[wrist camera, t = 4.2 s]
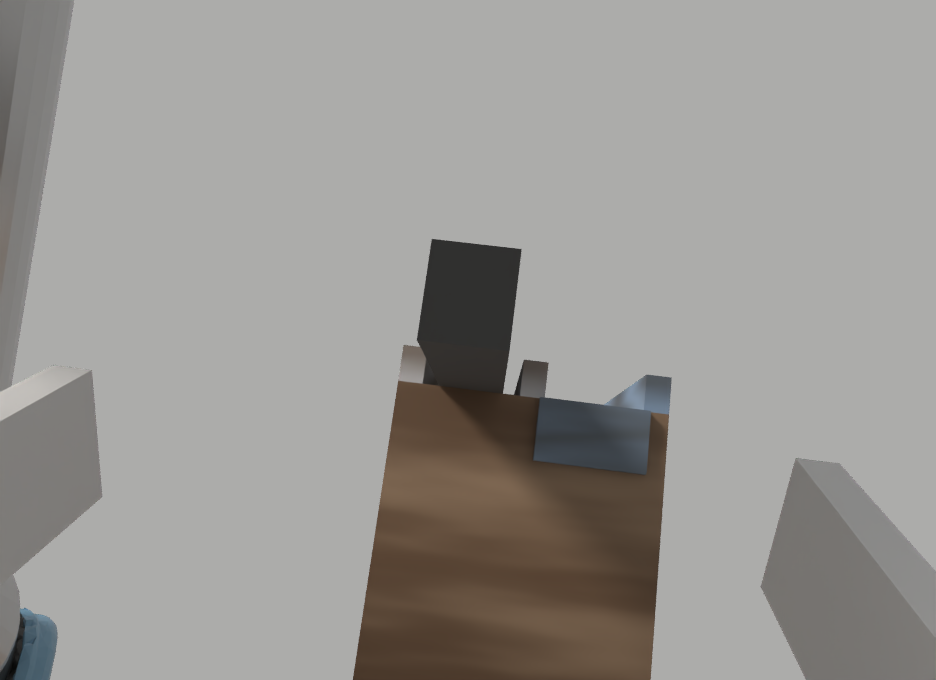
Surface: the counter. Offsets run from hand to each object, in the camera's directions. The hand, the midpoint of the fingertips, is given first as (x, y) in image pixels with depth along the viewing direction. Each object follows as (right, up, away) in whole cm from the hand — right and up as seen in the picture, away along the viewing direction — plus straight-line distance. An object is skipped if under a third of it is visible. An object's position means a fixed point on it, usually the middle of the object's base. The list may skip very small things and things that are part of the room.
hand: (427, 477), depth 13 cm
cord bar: (+1, 0, +17) cm, 17 cm away
